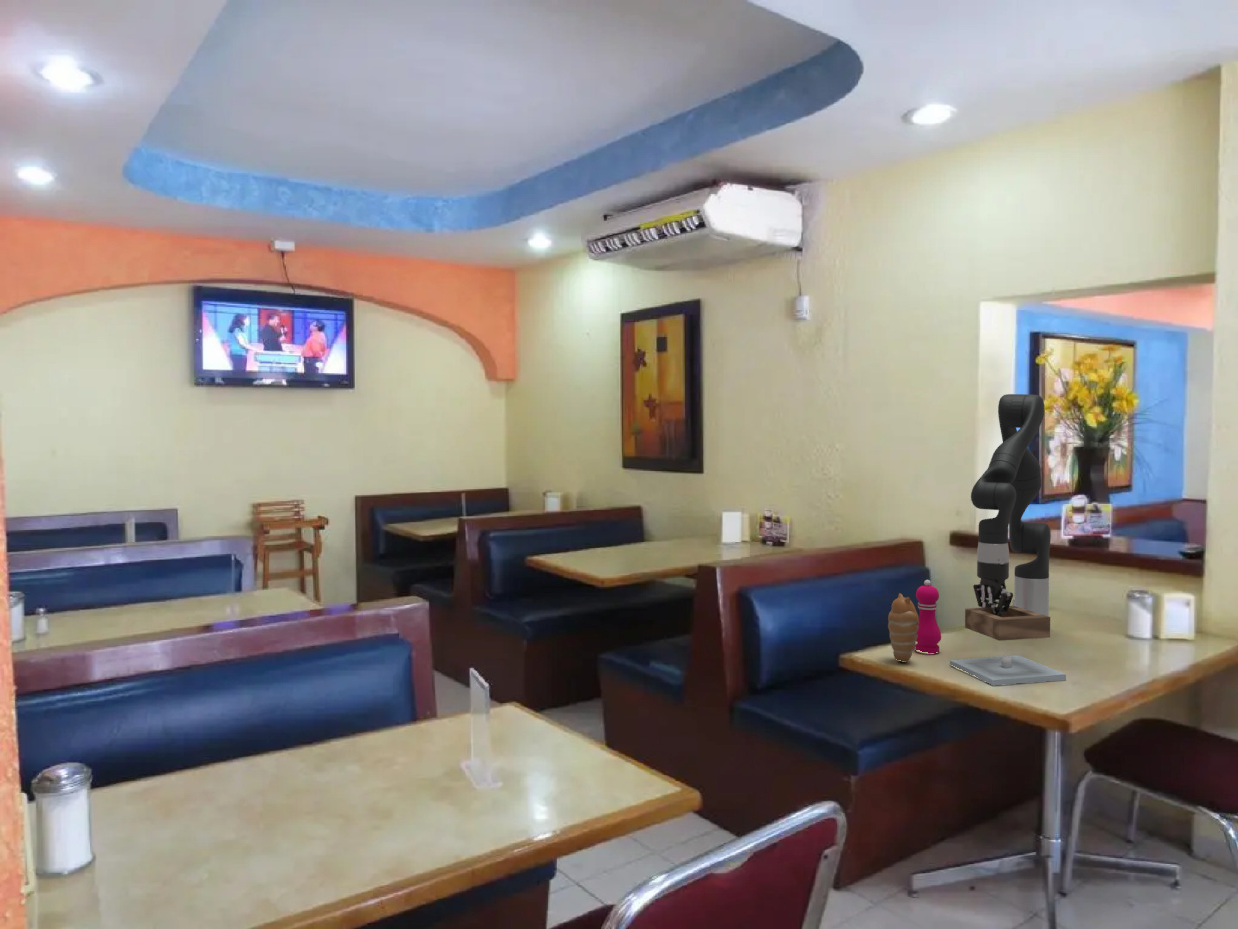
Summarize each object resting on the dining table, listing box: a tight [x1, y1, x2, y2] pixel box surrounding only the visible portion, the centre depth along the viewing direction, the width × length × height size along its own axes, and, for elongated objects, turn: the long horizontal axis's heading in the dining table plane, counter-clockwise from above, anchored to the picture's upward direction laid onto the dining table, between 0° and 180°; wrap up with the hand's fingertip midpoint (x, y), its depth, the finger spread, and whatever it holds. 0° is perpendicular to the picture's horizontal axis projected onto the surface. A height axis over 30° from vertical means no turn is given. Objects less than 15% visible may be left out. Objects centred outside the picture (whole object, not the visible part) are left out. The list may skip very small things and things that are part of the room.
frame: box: [964, 605, 1051, 642], centre depth 218 cm, size 14×14×5 cm
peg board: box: [949, 654, 1067, 687], centre depth 219 cm, size 18×20×4 cm
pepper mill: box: [914, 579, 942, 653], centre depth 239 cm, size 7×7×20 cm
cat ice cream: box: [887, 592, 919, 662], centre depth 229 cm, size 9×8×18 cm
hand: (992, 626), depth 224 cm, fingers closed on frame, 2 cm apart
